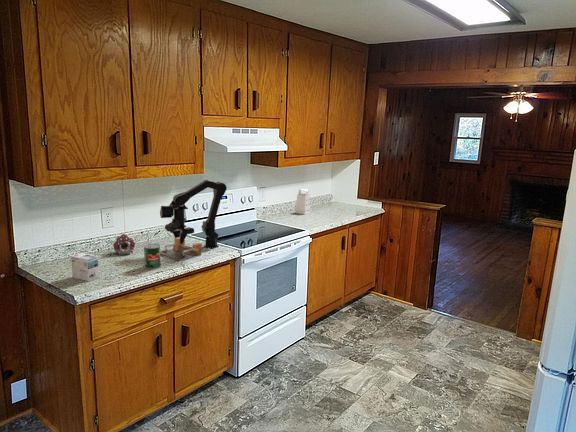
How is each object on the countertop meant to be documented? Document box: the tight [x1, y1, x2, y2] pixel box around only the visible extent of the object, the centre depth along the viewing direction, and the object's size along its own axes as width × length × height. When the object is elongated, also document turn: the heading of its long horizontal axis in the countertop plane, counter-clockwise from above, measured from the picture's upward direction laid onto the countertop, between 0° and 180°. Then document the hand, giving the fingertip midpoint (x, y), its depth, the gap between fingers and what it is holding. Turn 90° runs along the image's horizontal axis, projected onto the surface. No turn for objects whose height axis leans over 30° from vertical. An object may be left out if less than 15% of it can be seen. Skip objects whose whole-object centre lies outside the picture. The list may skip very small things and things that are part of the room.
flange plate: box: [160, 249, 192, 262], centre depth 242 cm, size 8×20×1 cm, turn 55°
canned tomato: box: [143, 243, 162, 270], centre depth 223 cm, size 8×8×11 cm
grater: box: [294, 188, 312, 215], centre depth 373 cm, size 10×10×20 cm
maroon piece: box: [112, 233, 136, 256], centre depth 245 cm, size 11×11×12 cm
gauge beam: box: [172, 242, 203, 257], centre depth 247 cm, size 13×20×6 cm, turn 55°
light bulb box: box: [70, 252, 101, 282], centre depth 204 cm, size 11×7×11 cm, turn 66°
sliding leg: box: [164, 237, 186, 251], centre depth 250 cm, size 13×3×7 cm, turn 145°
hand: (179, 243), depth 253 cm, fingers closed on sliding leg, 3 cm apart
